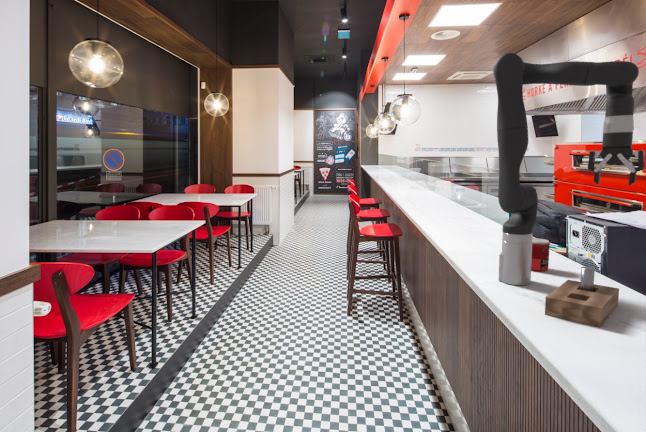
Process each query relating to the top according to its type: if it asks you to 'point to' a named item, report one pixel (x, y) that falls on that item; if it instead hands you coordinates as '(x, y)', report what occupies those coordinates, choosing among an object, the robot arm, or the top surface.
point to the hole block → (582, 303)
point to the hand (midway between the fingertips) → (614, 184)
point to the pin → (587, 278)
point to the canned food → (540, 255)
